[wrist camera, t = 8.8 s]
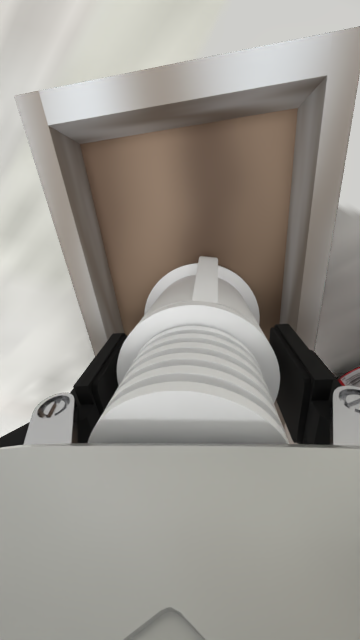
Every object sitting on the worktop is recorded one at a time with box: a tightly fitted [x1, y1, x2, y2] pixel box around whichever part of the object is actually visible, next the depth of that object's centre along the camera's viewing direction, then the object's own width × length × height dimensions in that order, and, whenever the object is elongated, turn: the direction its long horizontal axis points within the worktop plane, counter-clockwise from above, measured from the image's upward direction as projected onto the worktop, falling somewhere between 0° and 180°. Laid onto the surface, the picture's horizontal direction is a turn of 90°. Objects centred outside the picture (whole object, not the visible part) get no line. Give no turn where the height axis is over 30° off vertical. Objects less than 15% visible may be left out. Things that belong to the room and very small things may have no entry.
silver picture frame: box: [14, 26, 360, 444], centre depth 14 cm, size 12×22×4 cm, turn 6°
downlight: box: [88, 256, 289, 444], centre depth 10 cm, size 8×7×10 cm
